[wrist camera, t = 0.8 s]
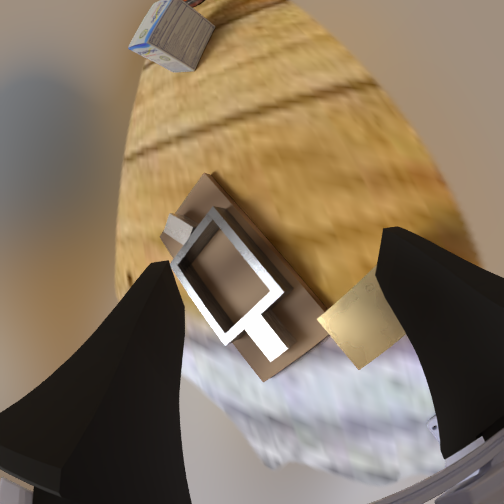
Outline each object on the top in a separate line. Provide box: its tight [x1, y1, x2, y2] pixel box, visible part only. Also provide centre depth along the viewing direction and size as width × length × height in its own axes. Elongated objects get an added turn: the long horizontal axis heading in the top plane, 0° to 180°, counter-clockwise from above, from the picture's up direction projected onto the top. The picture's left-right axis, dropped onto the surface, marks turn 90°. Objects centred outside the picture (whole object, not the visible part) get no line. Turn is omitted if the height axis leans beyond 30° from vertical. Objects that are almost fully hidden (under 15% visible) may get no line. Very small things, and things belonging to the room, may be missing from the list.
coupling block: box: [317, 265, 406, 370], centre depth 17 cm, size 4×6×7 cm, turn 135°
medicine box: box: [129, 0, 215, 72], centre depth 26 cm, size 8×4×9 cm, turn 160°
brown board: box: [160, 173, 329, 382], centre depth 25 cm, size 19×9×3 cm, turn 45°
